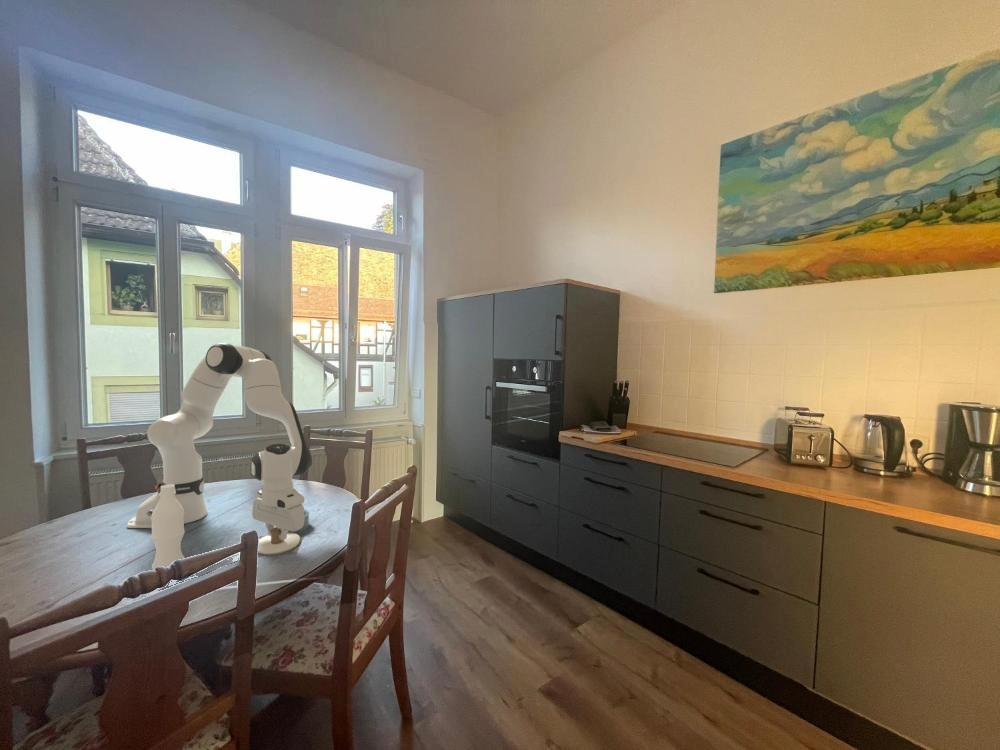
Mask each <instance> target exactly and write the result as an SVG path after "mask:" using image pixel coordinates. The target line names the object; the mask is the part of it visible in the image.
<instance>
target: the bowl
mask: <svg viewBox="0 0 1000 750" xmlns="http://www.w3.org/2000/svg"><path fill="white" fill-rule="evenodd" d="M309 526H310V512H309V511H308V510H307V509H304V526H303V527H302V528H301V529H299V530H297V531H294V532H293V531H290V530H289V531H288V532H291V533H295V534H297V533H301V532H302V531H304V530H306V529H308V527H309ZM276 527H277V526H275V528H276Z"/></svg>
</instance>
